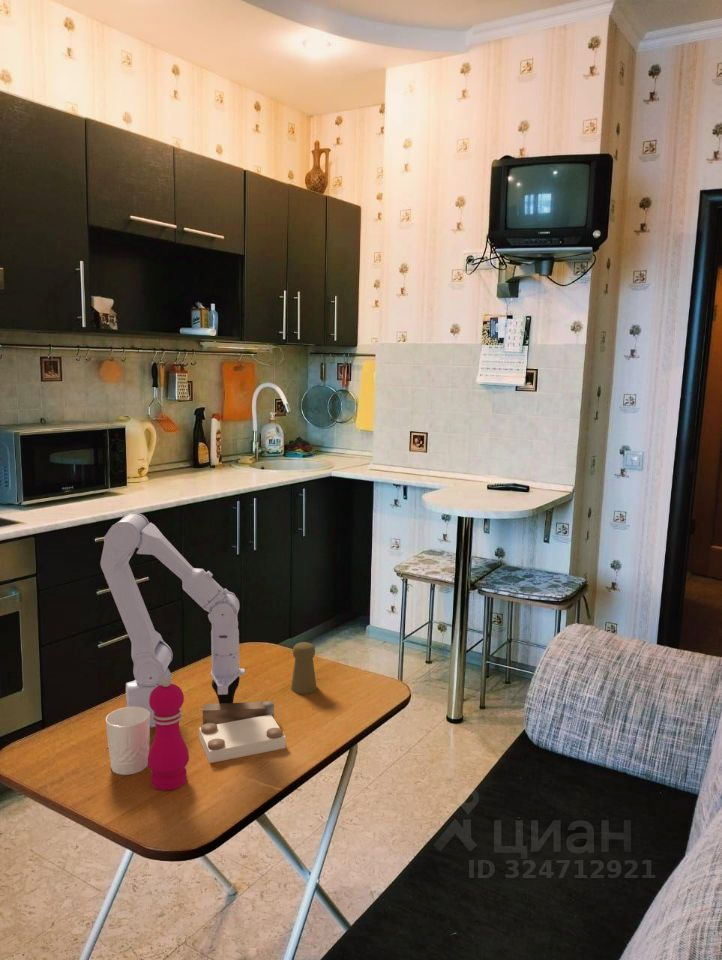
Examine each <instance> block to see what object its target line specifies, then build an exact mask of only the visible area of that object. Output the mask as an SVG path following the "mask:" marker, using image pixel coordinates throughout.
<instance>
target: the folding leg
mask: <svg viewBox="0 0 722 960" xmlns="http://www.w3.org/2000/svg"><path fill="white" fill-rule="evenodd" d="M265 715H272V717H273V718H274V719H275V702H274V701H272V700H267V701H256V702H255V701H251V702H249V701H248V702H247V701H246V702H233V703H219V702H218V703H203V708H202V725H204V724H207V723H214V724H221V723H227V722H232V721H238V720H243V719H249V718H254V717H260V716H265Z"/></svg>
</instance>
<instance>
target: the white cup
mask: <svg viewBox="0 0 722 960" xmlns="http://www.w3.org/2000/svg"><path fill="white" fill-rule="evenodd" d="M105 726H106V727H105V728H106V737H107V738H106V739H107V747H108V755H109V761H110V768H111V771H112V772H113V773H114V774H117V775H121V776H129V775H135V774H138V773H140V772H142V771H144V770H145V769H147V767H148V755H149V751H150V741H151V740H150V735H151V734H150V732H151V730H150V712H149V711H148V710H147V709H145V708H142V707H126V706H125V707H121V708H117V709H115V710H113V711H110V713H108V714H107V715H106V717H105Z"/></svg>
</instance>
